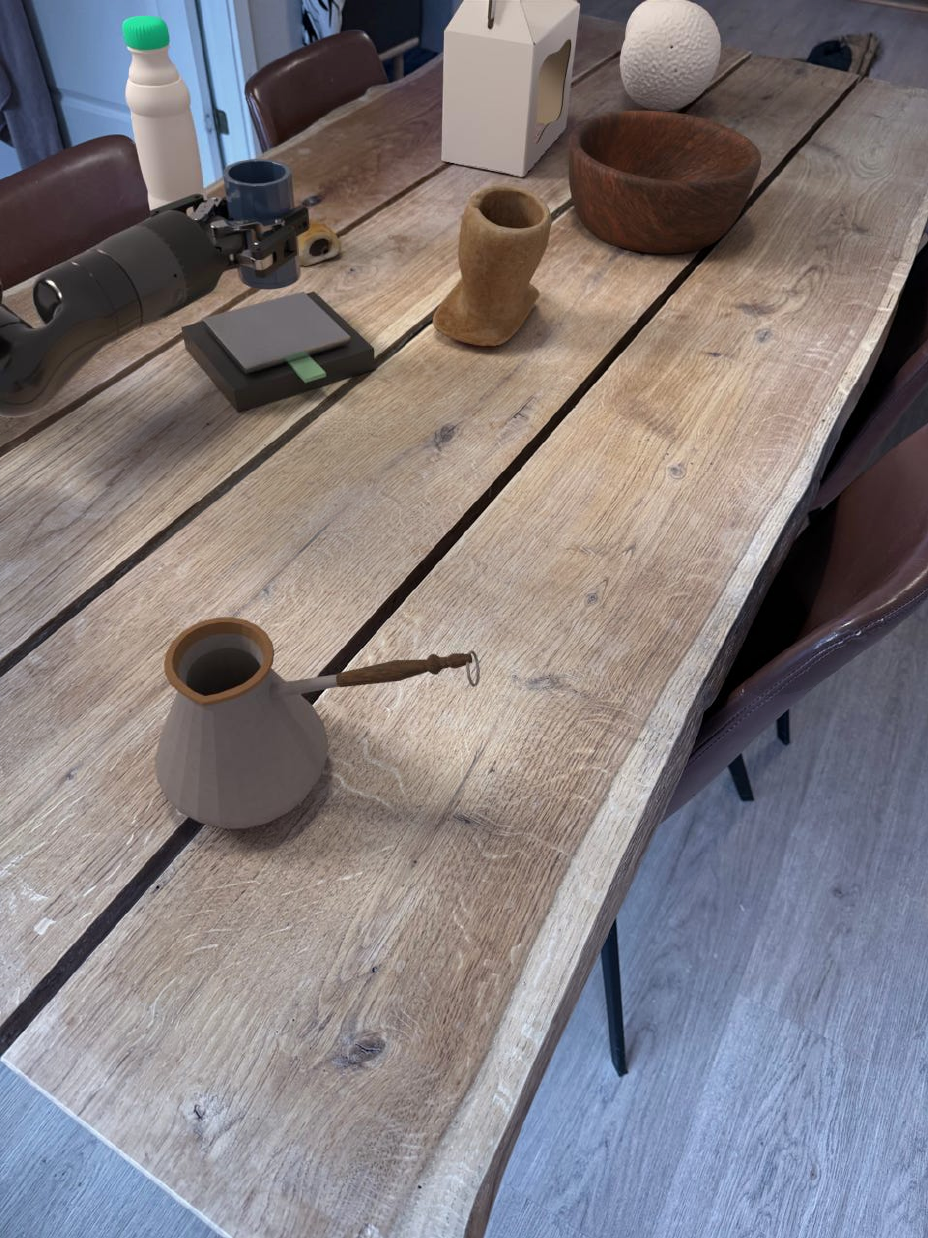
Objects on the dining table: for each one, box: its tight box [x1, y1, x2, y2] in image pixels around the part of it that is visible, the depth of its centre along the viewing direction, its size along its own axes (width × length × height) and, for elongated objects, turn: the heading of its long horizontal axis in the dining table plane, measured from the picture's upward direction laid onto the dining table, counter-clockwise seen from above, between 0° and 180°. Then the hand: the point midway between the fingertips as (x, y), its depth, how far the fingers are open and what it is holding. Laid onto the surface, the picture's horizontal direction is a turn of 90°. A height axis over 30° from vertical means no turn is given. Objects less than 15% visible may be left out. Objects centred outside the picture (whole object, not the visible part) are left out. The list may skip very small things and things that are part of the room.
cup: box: [222, 158, 302, 291], centre depth 88 cm, size 6×6×10 cm
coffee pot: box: [154, 616, 481, 830], centre depth 58 cm, size 21×12×15 cm, turn 85°
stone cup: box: [432, 183, 553, 347], centre depth 100 cm, size 15×12×15 cm
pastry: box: [297, 218, 342, 267], centre depth 115 cm, size 9×7×4 cm
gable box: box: [440, 0, 581, 178], centre depth 132 cm, size 22×13×28 cm, turn 159°
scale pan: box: [201, 291, 351, 374], centre depth 96 cm, size 12×11×1 cm
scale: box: [180, 291, 376, 413], centre depth 97 cm, size 16×16×3 cm
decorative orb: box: [619, 0, 722, 112], centre depth 150 cm, size 20×18×16 cm
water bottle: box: [121, 15, 208, 217], centre depth 106 cm, size 7×7×25 cm
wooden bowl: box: [567, 110, 762, 255], centre depth 122 cm, size 25×25×10 cm
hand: (278, 206), depth 88 cm, fingers closed on cup, 6 cm apart
